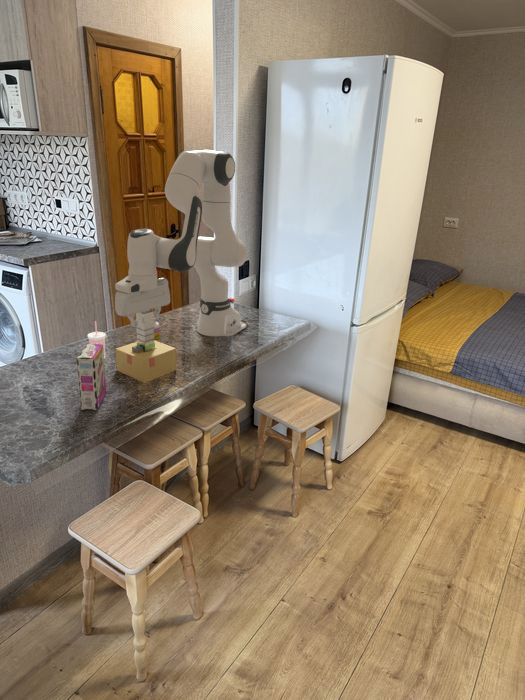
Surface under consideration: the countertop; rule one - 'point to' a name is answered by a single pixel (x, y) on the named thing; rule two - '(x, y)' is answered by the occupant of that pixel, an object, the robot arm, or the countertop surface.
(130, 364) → the housing
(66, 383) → the countertop surface
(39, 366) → the countertop surface
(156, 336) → the supplement bottle
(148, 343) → the column
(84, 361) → the candy bar box
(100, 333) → the beverage cup
